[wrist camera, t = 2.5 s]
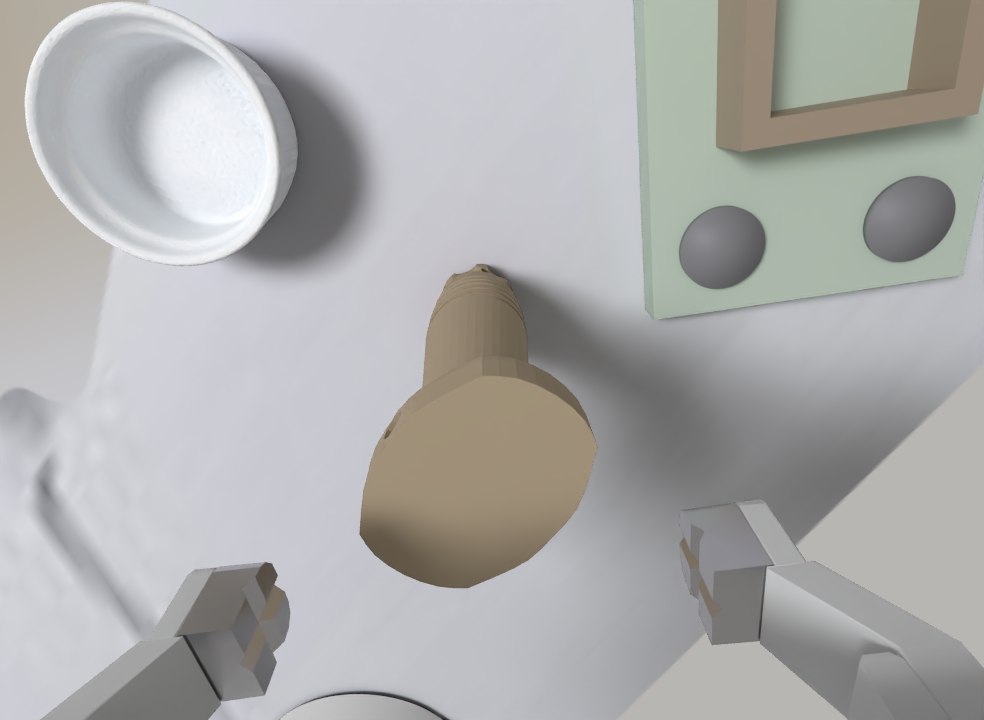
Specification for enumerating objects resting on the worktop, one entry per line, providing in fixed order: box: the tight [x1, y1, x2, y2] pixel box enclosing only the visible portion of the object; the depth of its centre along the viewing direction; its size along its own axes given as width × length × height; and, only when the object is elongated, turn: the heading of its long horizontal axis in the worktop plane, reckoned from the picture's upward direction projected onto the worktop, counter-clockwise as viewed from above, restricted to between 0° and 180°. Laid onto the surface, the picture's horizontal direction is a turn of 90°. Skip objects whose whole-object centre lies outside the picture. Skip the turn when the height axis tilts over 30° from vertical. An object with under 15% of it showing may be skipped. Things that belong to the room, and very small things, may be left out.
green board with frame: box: [633, 0, 984, 320], centre depth 22 cm, size 18×14×4 cm
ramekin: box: [25, 1, 298, 266], centre depth 22 cm, size 9×9×4 cm
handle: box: [360, 264, 598, 588], centre depth 20 cm, size 5×6×15 cm
